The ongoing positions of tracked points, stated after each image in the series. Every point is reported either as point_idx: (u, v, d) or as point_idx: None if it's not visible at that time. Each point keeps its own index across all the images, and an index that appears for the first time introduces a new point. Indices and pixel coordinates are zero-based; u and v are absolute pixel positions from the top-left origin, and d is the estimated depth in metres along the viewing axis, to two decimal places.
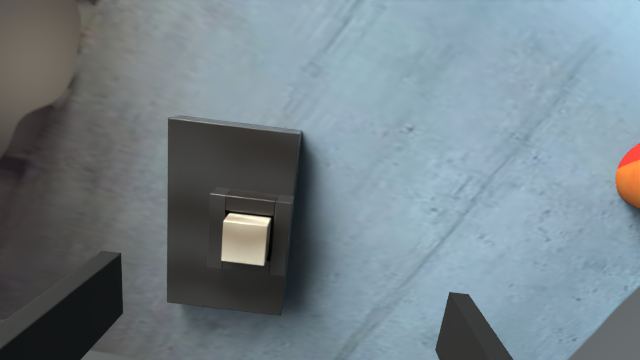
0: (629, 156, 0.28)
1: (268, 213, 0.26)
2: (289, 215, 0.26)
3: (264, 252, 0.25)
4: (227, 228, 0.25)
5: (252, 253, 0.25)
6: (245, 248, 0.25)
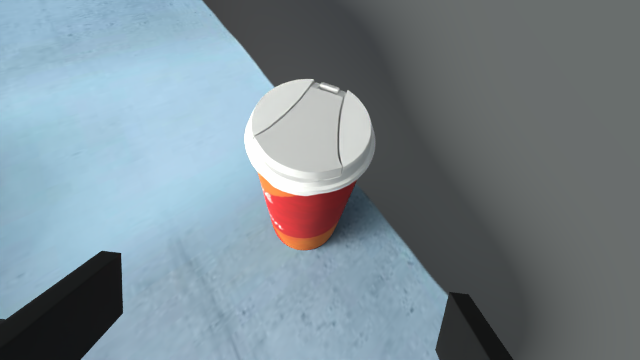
0: (278, 236, 0.32)
1: None
2: None
3: None
4: None
5: None
6: None
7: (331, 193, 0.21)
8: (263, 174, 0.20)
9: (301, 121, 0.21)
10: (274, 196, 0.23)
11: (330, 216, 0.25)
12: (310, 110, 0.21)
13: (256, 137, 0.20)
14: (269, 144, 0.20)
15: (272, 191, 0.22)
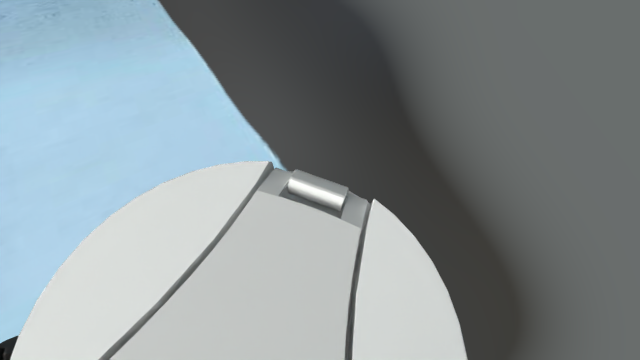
0: None
1: None
2: None
3: None
4: None
5: None
6: None
7: None
8: None
9: (208, 346, 0.06)
10: None
11: None
12: (247, 289, 0.06)
13: None
14: None
15: None
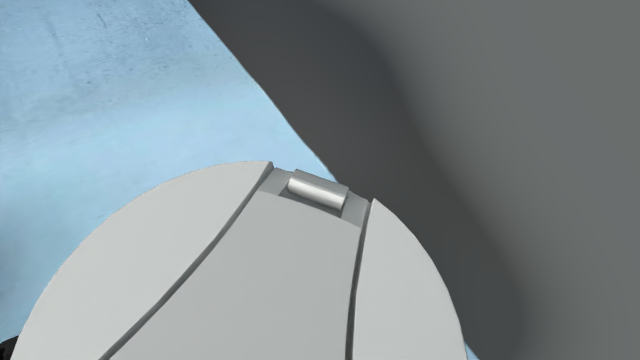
0: None
1: None
2: None
3: None
4: None
5: None
6: None
7: None
8: None
9: (208, 346, 0.06)
10: None
11: None
12: (248, 289, 0.06)
13: None
14: None
15: None
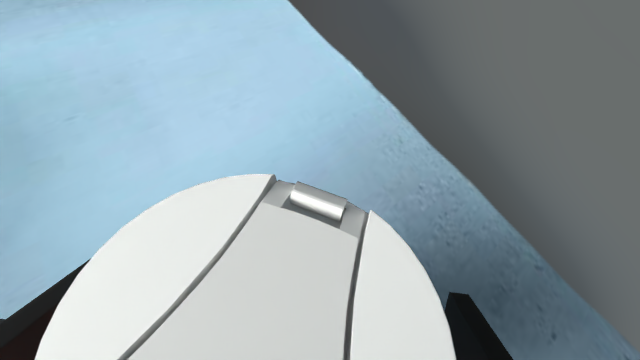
0: None
1: None
2: None
3: None
4: None
5: None
6: None
7: None
8: None
9: (217, 349, 0.06)
10: None
11: None
12: (252, 296, 0.06)
13: None
14: None
15: None
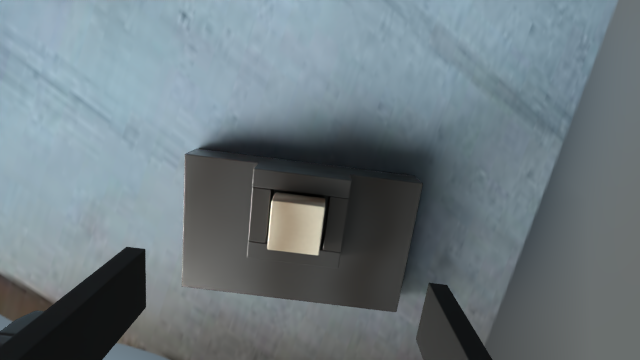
0: None
1: (267, 195, 0.22)
2: (269, 171, 0.21)
3: (306, 205, 0.20)
4: (276, 245, 0.21)
5: (308, 219, 0.21)
6: (302, 227, 0.21)
7: None
8: None
9: None
10: None
11: None
12: None
13: None
14: None
15: None
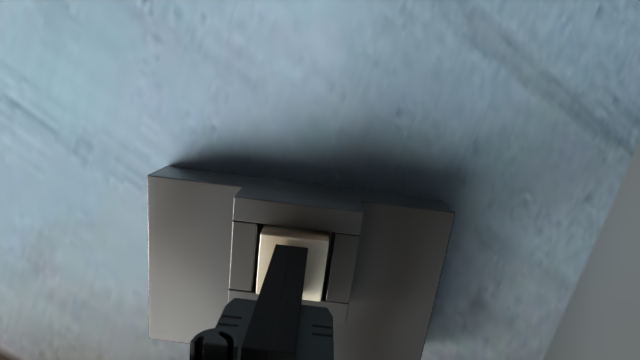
0: None
1: (252, 231, 0.16)
2: (254, 200, 0.16)
3: (305, 240, 0.16)
4: None
5: (307, 257, 0.16)
6: None
7: None
8: None
9: None
10: None
11: None
12: None
13: None
14: None
15: None
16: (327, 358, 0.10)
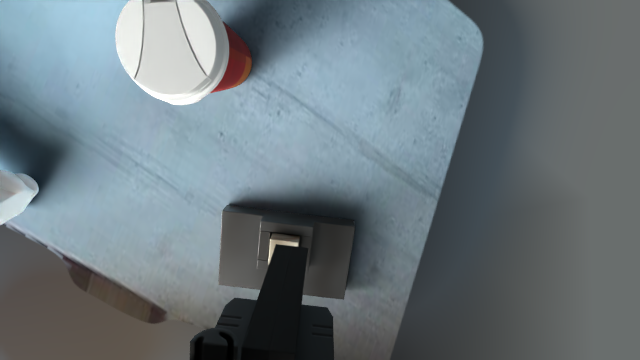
0: None
1: (268, 235, 0.40)
2: (269, 222, 0.40)
3: (288, 241, 0.39)
4: None
5: None
6: None
7: None
8: (161, 99, 0.27)
9: (157, 47, 0.25)
10: None
11: (232, 78, 0.32)
12: (158, 31, 0.24)
13: (136, 78, 0.25)
14: (148, 81, 0.25)
15: None
16: (327, 358, 0.10)
